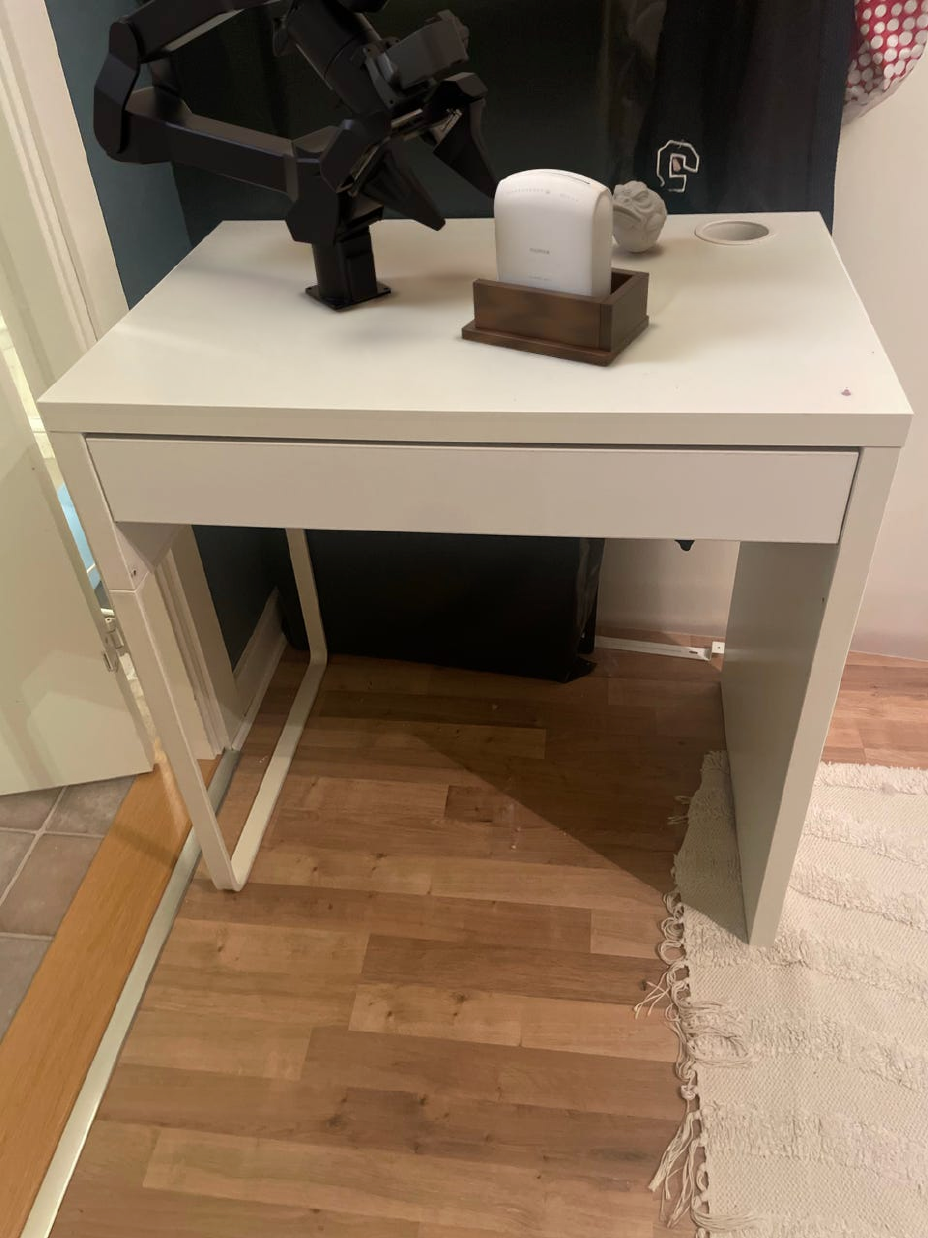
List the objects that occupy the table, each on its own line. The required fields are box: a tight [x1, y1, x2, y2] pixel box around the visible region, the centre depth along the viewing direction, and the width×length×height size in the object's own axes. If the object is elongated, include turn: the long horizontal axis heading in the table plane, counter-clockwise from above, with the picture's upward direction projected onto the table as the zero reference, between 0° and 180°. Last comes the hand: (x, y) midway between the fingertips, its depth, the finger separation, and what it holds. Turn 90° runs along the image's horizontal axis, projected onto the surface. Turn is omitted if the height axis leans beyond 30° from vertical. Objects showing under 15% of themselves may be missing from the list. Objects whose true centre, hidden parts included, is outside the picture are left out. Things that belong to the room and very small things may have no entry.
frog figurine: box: [612, 180, 668, 253], centre depth 96 cm, size 6×7×7 cm
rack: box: [460, 266, 650, 367], centre depth 83 cm, size 14×9×5 cm, turn 59°
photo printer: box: [493, 168, 613, 299], centre depth 80 cm, size 10×4×12 cm, turn 57°
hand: (470, 210), depth 82 cm, fingers open, 9 cm apart
